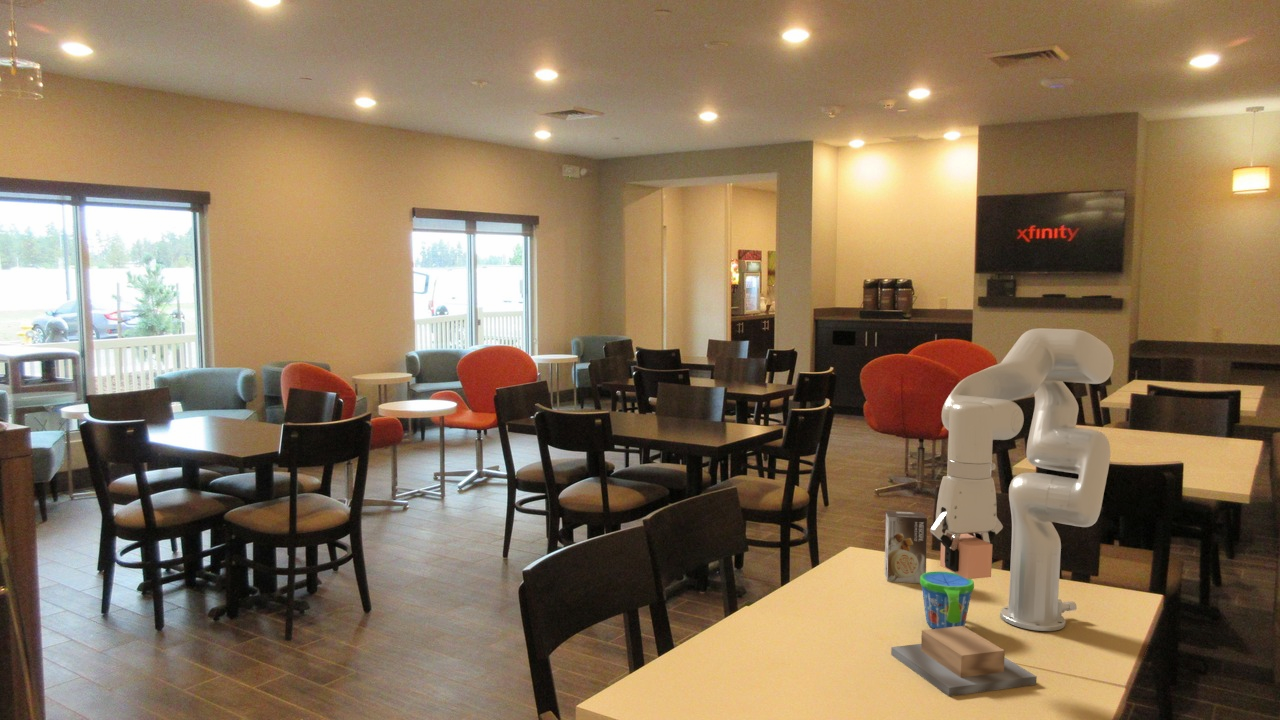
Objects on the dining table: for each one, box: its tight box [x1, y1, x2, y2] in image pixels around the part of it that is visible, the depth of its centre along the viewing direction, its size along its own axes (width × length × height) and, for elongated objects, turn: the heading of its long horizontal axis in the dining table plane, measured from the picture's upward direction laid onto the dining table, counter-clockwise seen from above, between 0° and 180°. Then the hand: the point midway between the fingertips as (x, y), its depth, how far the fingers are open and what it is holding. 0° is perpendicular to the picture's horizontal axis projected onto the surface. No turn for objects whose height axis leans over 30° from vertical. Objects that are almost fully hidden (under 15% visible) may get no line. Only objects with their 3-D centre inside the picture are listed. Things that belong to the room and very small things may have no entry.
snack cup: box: [919, 571, 975, 629], centre depth 184 cm, size 16×10×10 cm
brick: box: [939, 533, 993, 580], centre depth 161 cm, size 5×8×6 cm, turn 16°
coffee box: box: [884, 510, 928, 584], centre depth 214 cm, size 9×6×16 cm
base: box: [890, 626, 1037, 697], centre depth 163 cm, size 18×18×6 cm
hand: (965, 567), depth 162 cm, fingers closed on brick, 5 cm apart
